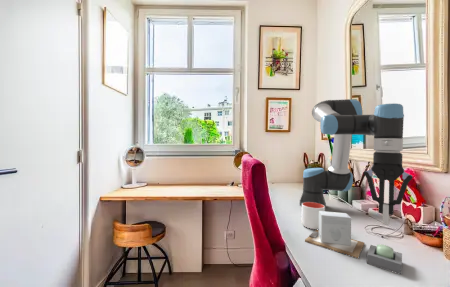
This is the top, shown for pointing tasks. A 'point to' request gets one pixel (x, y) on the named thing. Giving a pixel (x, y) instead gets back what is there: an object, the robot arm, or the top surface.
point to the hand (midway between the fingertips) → (385, 223)
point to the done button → (385, 251)
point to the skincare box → (335, 228)
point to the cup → (311, 214)
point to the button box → (385, 260)
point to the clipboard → (337, 245)
